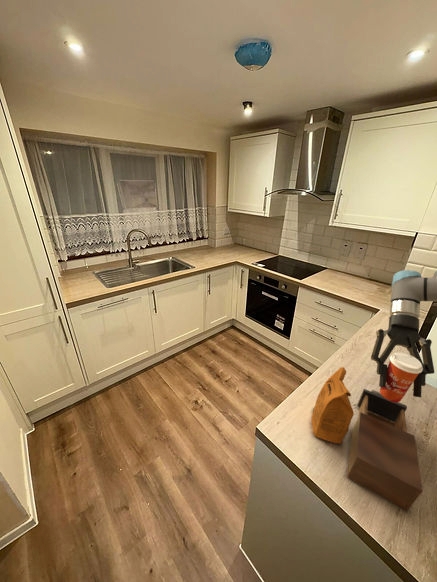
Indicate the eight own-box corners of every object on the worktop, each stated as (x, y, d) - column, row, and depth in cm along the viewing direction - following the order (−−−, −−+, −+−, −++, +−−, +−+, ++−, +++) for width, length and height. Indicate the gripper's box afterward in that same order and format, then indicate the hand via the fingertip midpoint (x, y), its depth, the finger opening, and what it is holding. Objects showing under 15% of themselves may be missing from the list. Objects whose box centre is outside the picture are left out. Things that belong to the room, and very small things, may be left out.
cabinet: (351, 431, 77) (360, 411, 73) (402, 455, 70) (414, 435, 66) (346, 477, 65) (356, 456, 61) (406, 511, 58) (422, 491, 54)
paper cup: (378, 400, 71) (395, 364, 65) (373, 382, 77) (388, 348, 71) (409, 409, 68) (429, 373, 62) (401, 389, 75) (419, 355, 68)
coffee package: (341, 416, 82) (360, 368, 72) (343, 449, 71) (365, 399, 62) (311, 405, 85) (325, 358, 76) (309, 436, 75) (325, 386, 65)
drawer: (358, 394, 89) (364, 379, 86) (397, 410, 84) (405, 394, 80) (354, 436, 74) (361, 420, 71) (401, 459, 68) (411, 443, 65)
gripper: (437, 327, 74) (435, 403, 68) (363, 313, 81) (355, 380, 74) (452, 322, 67) (452, 405, 61) (370, 306, 74) (363, 380, 68)
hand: (399, 391), depth 68 cm, fingers closed on paper cup, 8 cm apart
